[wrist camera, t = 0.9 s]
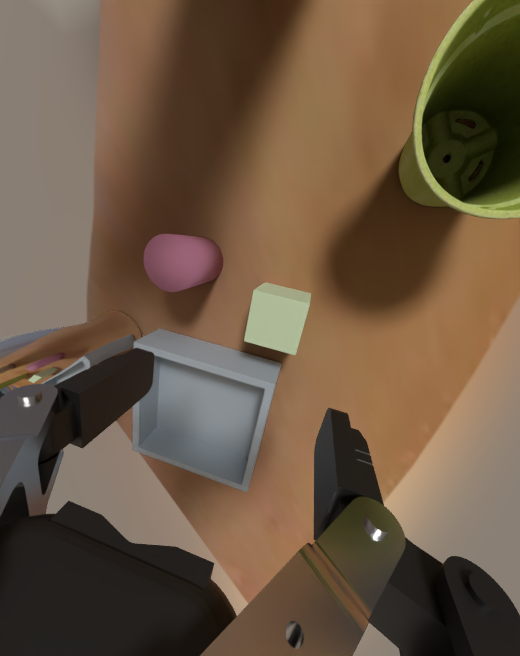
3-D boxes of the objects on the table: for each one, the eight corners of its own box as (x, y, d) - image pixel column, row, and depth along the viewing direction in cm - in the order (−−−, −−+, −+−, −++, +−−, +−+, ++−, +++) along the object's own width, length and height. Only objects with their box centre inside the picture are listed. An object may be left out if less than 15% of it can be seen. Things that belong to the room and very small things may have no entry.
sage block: (264, 282, 24) (253, 290, 19) (311, 293, 23) (309, 303, 19) (256, 325, 25) (243, 341, 21) (299, 336, 25) (295, 355, 20)
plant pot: (465, 247, 19) (571, 248, 11) (352, 207, 20) (376, 181, 12) (556, 105, 16) (805, -42, 8) (416, 64, 17) (509, -107, 9)
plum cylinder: (184, 232, 24) (144, 228, 18) (226, 242, 23) (197, 240, 18) (180, 276, 25) (142, 285, 20) (219, 286, 25) (191, 297, 19)
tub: (159, 328, 28) (133, 341, 24) (281, 363, 26) (275, 384, 22) (154, 425, 33) (132, 449, 29) (256, 461, 31) (247, 492, 27)
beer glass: (86, 318, 30) (-114, 380, 16) (126, 298, 28) (-66, 349, 14) (115, 366, 31) (-45, 462, 17) (156, 351, 29) (8, 446, 15)
